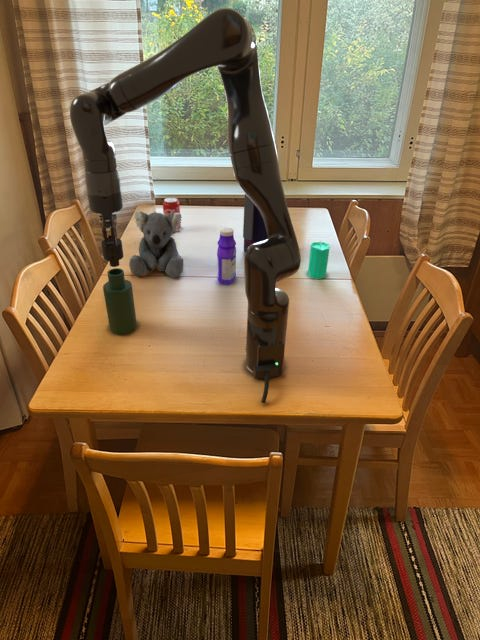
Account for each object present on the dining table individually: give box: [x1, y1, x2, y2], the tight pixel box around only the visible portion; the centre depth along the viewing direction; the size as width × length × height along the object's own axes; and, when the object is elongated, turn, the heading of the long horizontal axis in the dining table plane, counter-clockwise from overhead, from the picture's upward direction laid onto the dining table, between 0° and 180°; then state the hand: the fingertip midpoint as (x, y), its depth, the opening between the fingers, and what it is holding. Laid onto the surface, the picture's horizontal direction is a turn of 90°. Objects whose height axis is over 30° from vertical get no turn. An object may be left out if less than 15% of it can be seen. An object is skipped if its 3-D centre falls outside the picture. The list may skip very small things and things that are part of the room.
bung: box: [100, 237, 124, 268], centre depth 116 cm, size 5×5×6 cm
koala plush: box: [128, 210, 184, 279], centre depth 153 cm, size 17×18×20 cm
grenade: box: [242, 193, 268, 254], centre depth 159 cm, size 14×12×30 cm
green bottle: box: [102, 267, 138, 336], centre depth 124 cm, size 7×7×17 cm
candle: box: [307, 241, 331, 280], centre depth 152 cm, size 6×6×12 cm
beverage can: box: [162, 196, 182, 233], centre depth 181 cm, size 6×6×12 cm
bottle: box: [216, 226, 237, 285], centre depth 146 cm, size 7×6×17 cm
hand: (113, 256), depth 117 cm, fingers closed on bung, 4 cm apart
